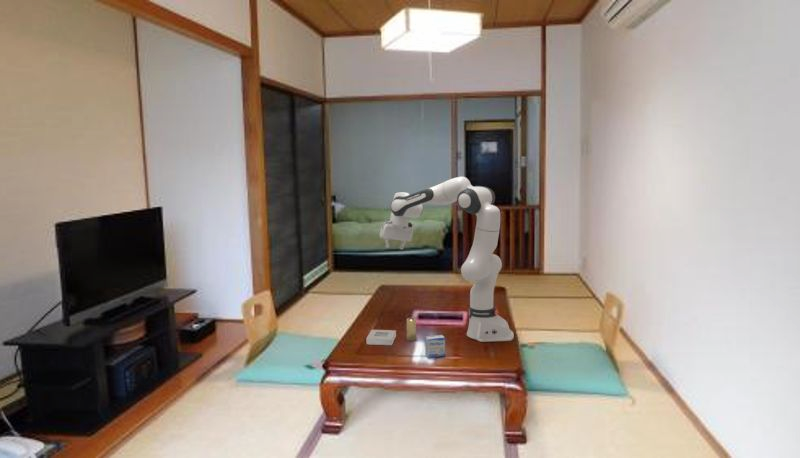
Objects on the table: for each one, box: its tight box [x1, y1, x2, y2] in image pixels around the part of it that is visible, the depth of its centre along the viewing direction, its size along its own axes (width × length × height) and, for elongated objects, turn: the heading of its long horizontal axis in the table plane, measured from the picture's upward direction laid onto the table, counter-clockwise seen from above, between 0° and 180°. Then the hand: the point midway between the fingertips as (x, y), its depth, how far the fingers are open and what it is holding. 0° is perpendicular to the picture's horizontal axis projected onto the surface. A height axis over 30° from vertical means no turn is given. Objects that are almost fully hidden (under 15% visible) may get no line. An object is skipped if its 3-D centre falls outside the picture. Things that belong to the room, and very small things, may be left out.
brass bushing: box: [406, 317, 417, 342], centre depth 262 cm, size 4×4×10 cm
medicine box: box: [424, 334, 446, 359], centre depth 241 cm, size 8×4×9 cm, turn 105°
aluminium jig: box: [365, 329, 397, 346], centre depth 261 cm, size 12×12×3 cm
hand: (394, 248), depth 290 cm, fingers open, 8 cm apart
